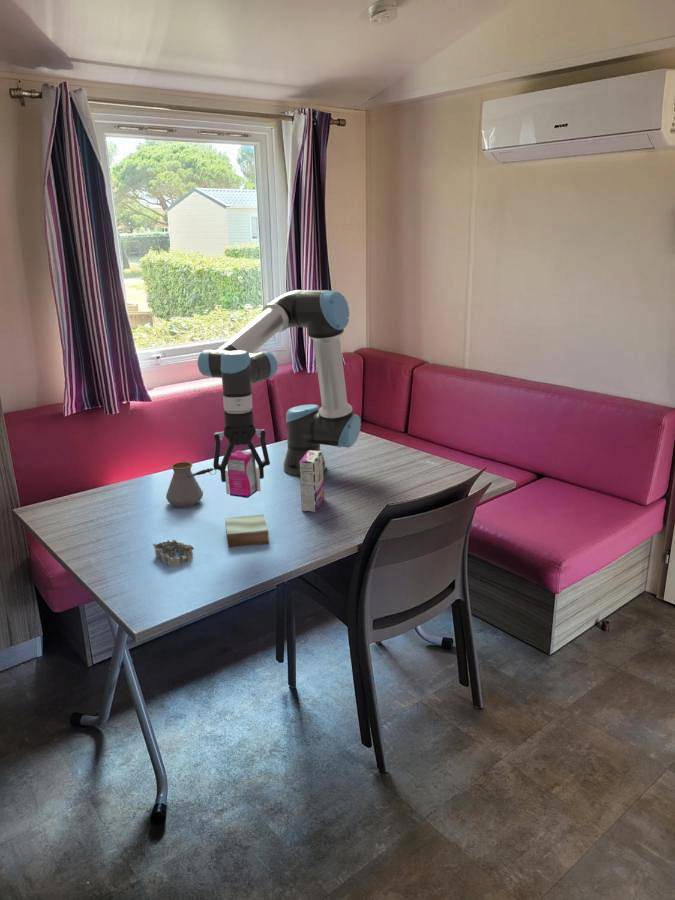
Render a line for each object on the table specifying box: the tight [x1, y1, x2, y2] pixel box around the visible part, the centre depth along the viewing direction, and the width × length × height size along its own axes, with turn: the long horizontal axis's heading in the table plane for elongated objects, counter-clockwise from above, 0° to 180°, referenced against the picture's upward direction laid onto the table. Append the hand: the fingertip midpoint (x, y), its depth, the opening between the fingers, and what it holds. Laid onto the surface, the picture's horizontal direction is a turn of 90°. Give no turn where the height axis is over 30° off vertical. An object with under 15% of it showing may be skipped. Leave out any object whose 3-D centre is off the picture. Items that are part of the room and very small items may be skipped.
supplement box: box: [226, 450, 259, 499], centre depth 181 cm, size 6×6×12 cm
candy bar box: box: [299, 450, 325, 513], centre depth 205 cm, size 11×5×16 cm, turn 168°
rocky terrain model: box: [152, 539, 195, 568], centre depth 175 cm, size 11×8×4 cm
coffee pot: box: [165, 461, 217, 509], centre depth 206 cm, size 21×12×15 cm, turn 50°
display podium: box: [224, 514, 269, 548], centre depth 186 cm, size 11×11×4 cm
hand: (243, 490), depth 182 cm, fingers closed on supplement box, 8 cm apart
